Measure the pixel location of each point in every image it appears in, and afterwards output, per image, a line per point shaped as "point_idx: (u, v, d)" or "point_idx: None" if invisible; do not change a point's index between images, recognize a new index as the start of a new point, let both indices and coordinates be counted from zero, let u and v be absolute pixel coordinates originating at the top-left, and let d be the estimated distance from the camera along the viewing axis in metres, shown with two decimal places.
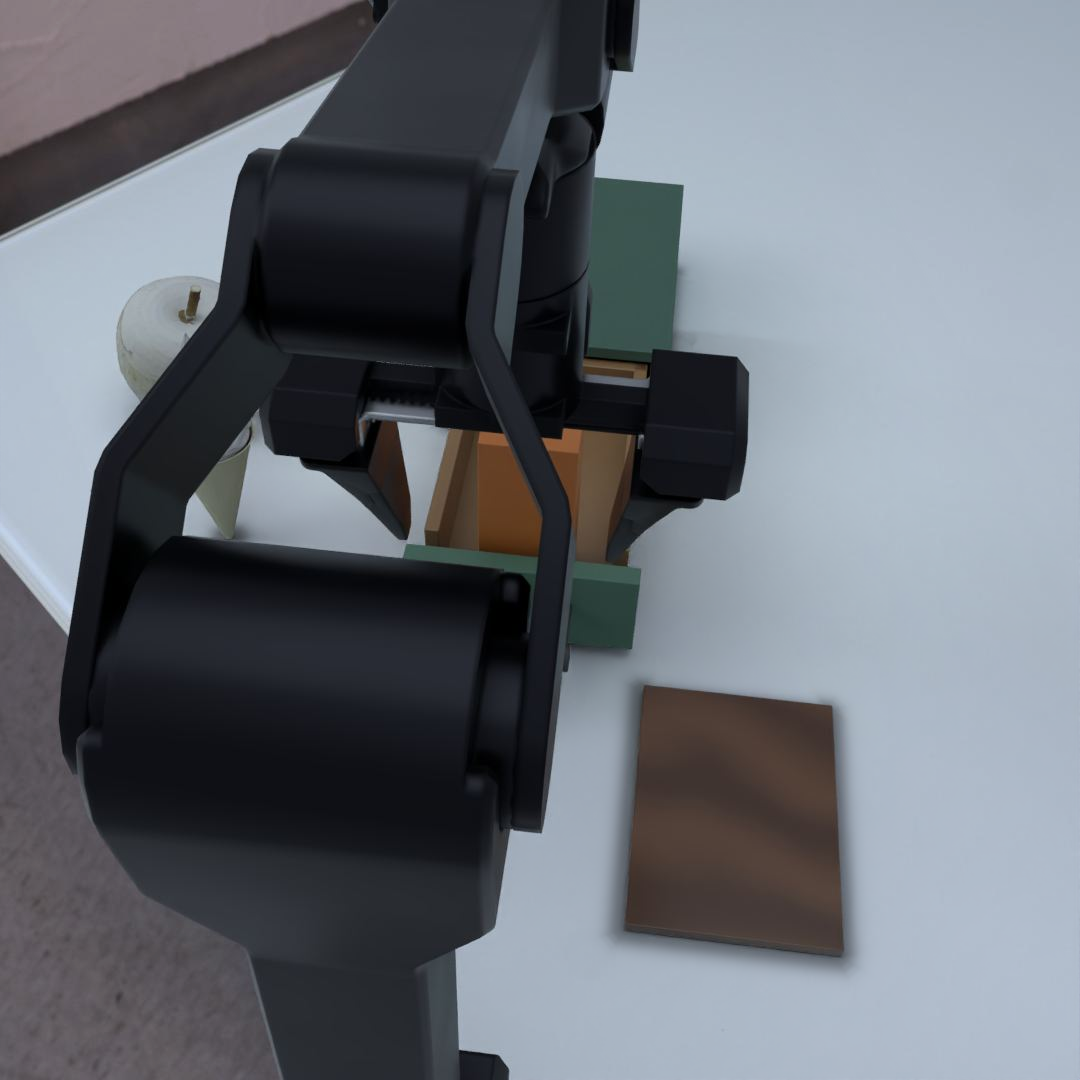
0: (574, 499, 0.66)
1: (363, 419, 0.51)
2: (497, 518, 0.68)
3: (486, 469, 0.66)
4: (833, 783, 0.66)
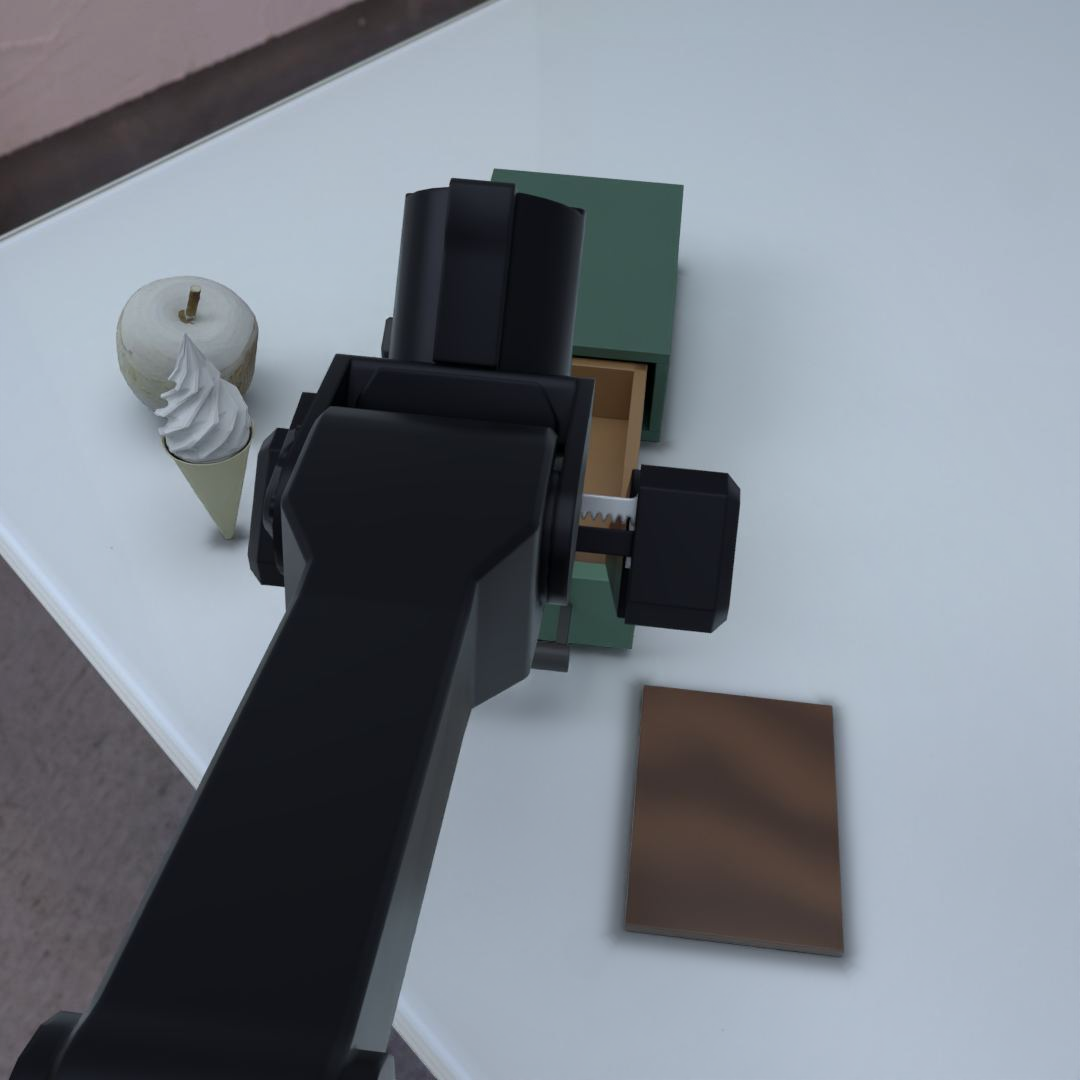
0: None
1: None
2: None
3: None
4: (833, 783, 0.66)
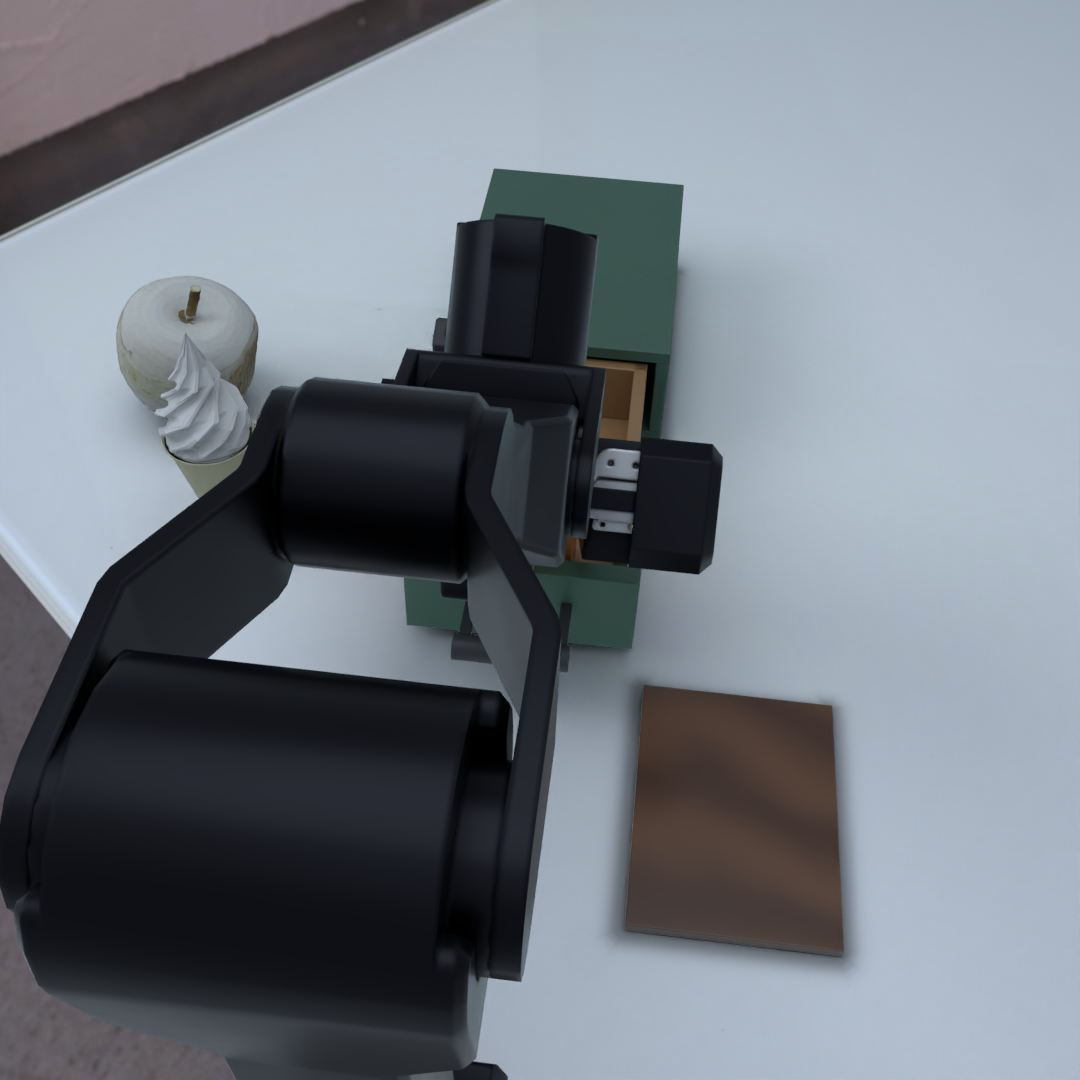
0: None
1: None
2: None
3: None
4: (833, 783, 0.66)
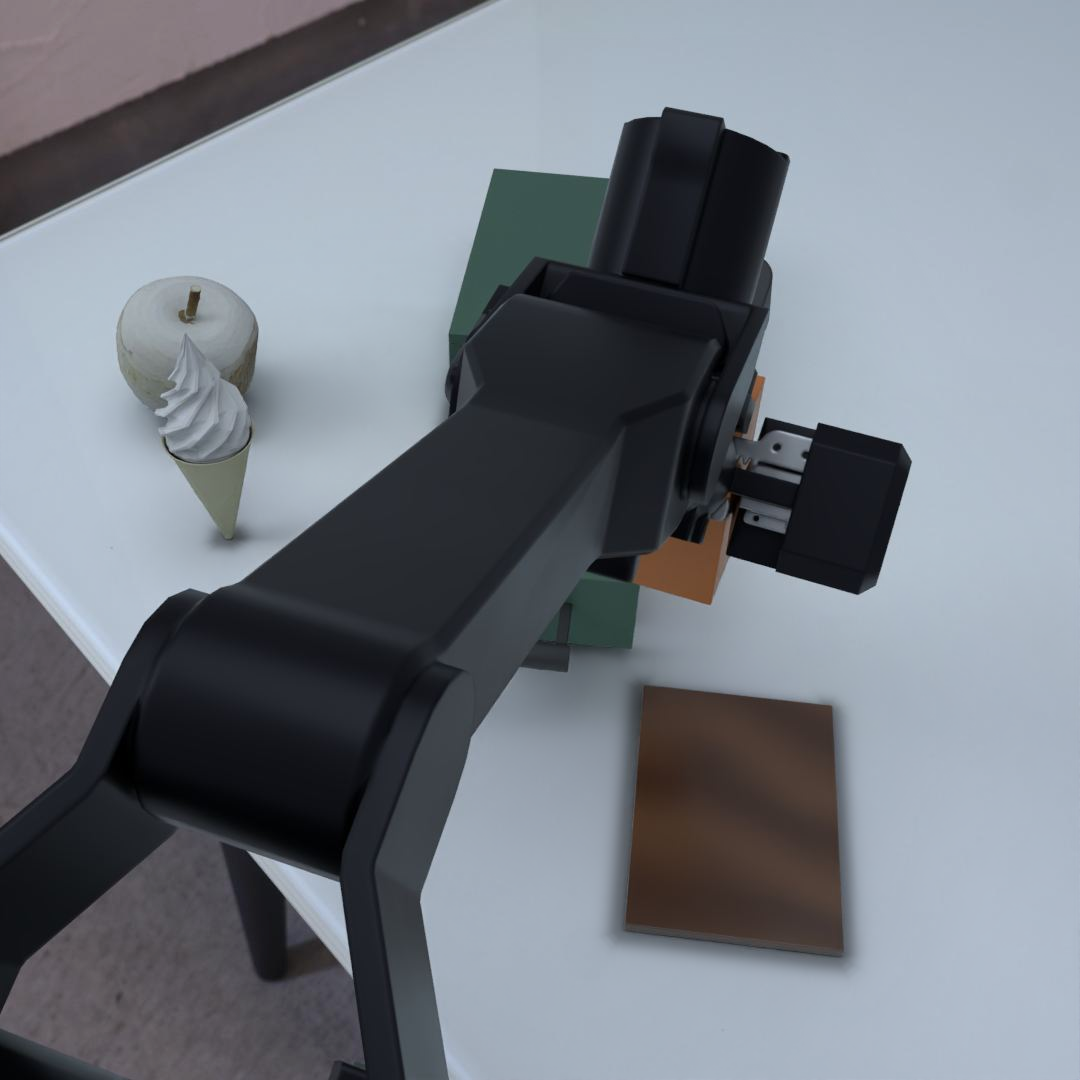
0: None
1: None
2: None
3: None
4: (833, 783, 0.66)
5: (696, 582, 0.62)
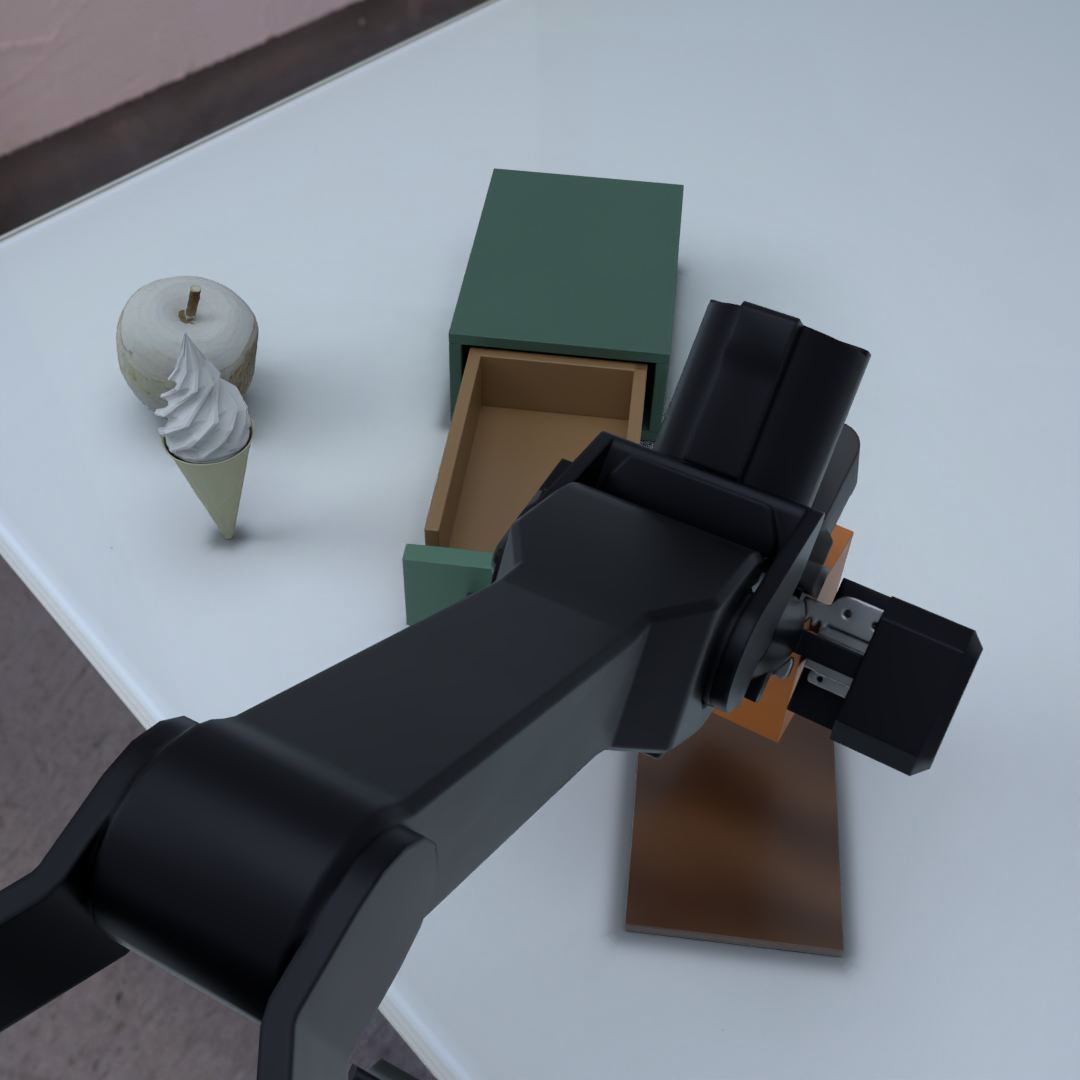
0: None
1: None
2: None
3: None
4: (833, 783, 0.66)
5: (764, 719, 0.62)
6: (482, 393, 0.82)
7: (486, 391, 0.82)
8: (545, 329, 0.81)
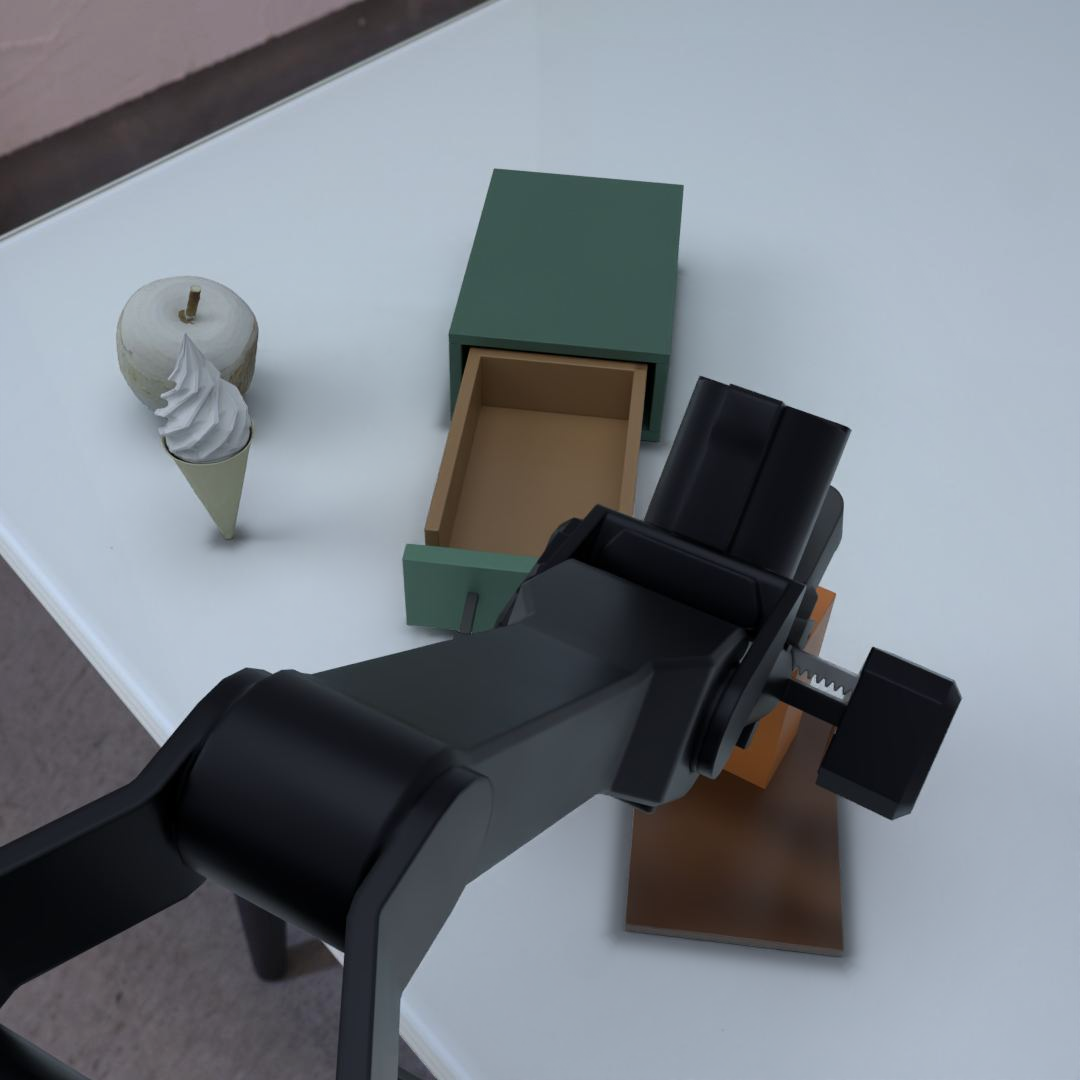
0: None
1: None
2: None
3: None
4: None
5: (753, 767, 0.65)
6: (482, 393, 0.82)
7: (486, 391, 0.82)
8: (545, 329, 0.81)
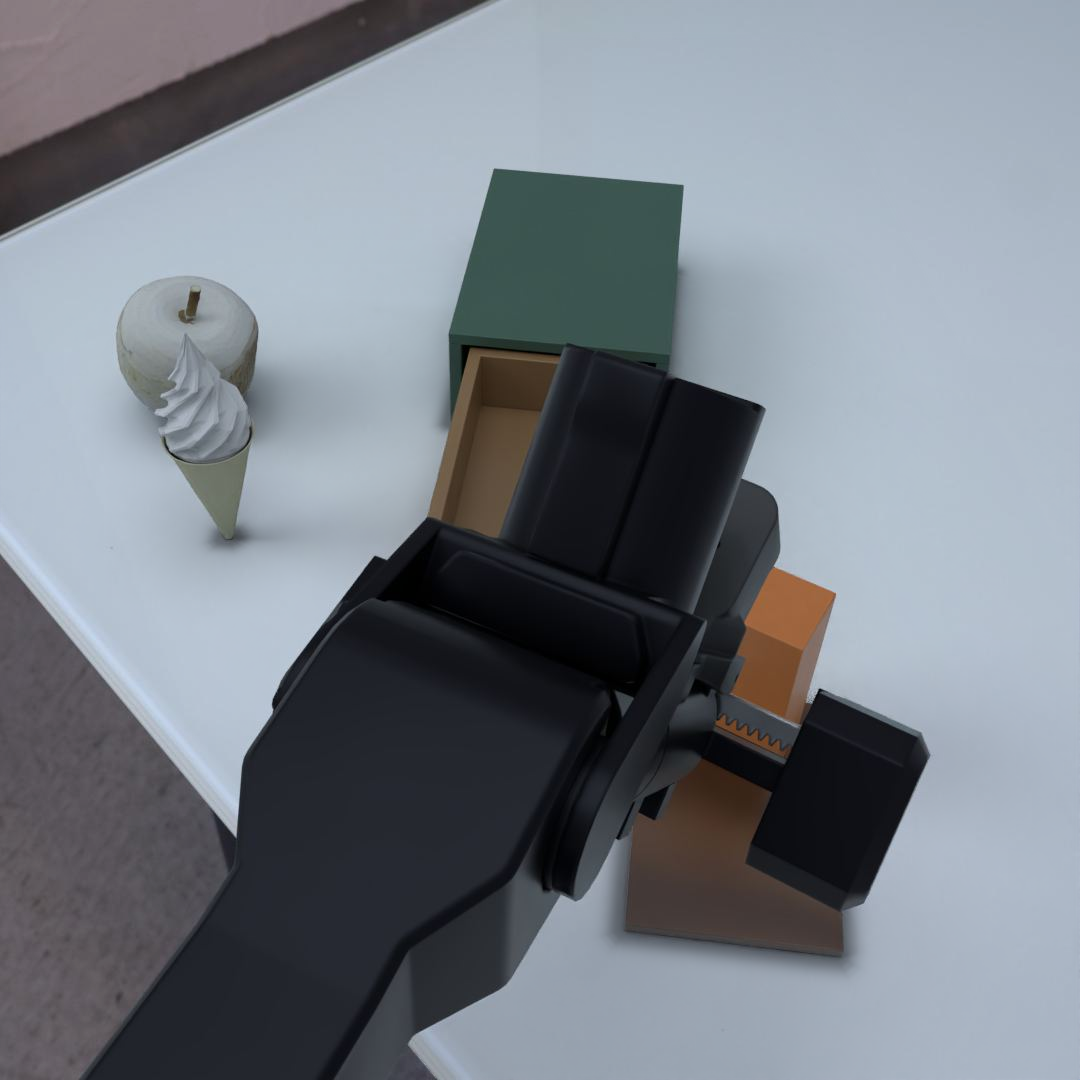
0: (790, 693, 0.60)
1: None
2: None
3: None
4: None
5: None
6: (482, 393, 0.82)
7: (486, 391, 0.82)
8: (545, 329, 0.81)
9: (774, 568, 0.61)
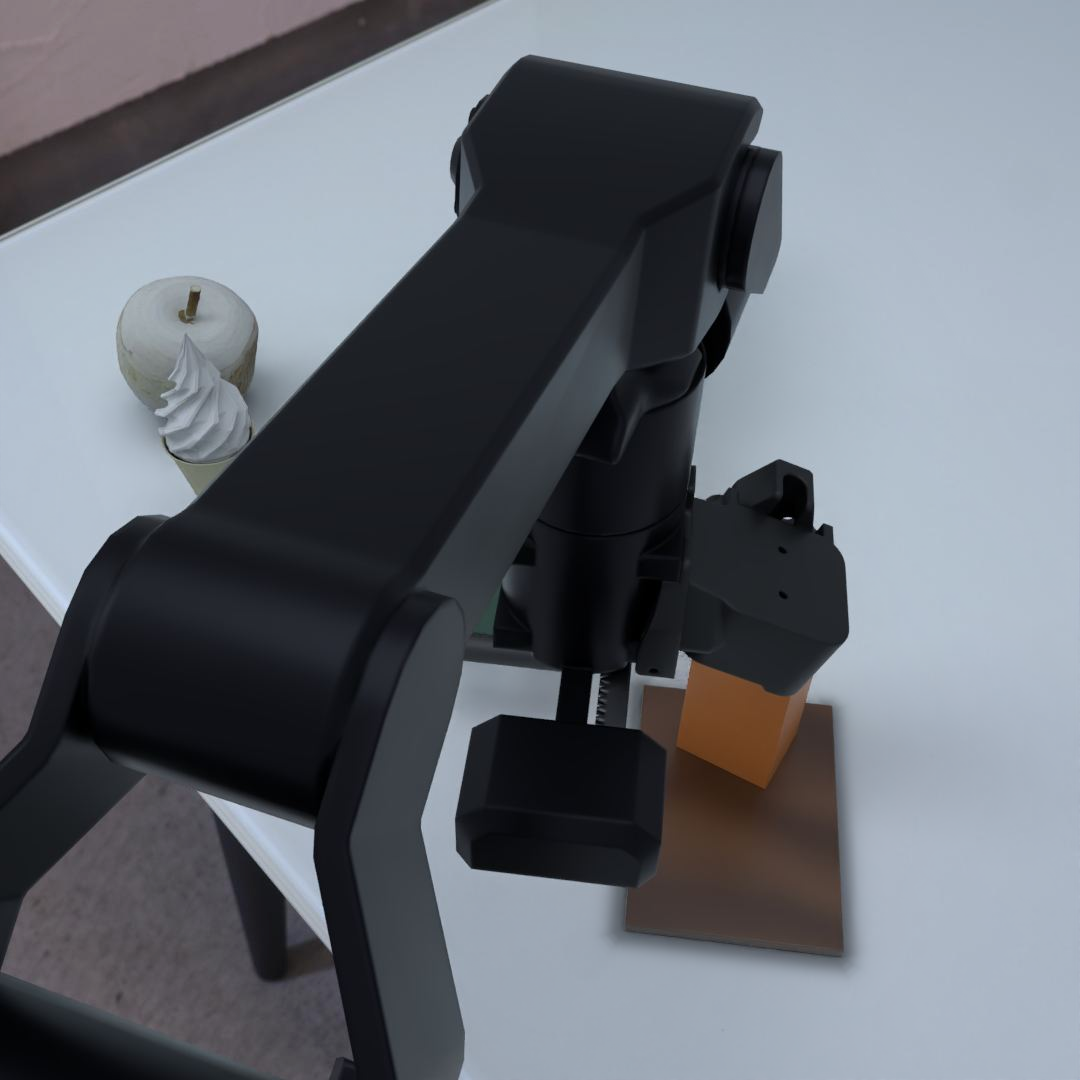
0: None
1: None
2: (707, 683, 0.63)
3: None
4: (833, 783, 0.66)
5: (753, 767, 0.65)
6: None
7: None
8: None
9: None
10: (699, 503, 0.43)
